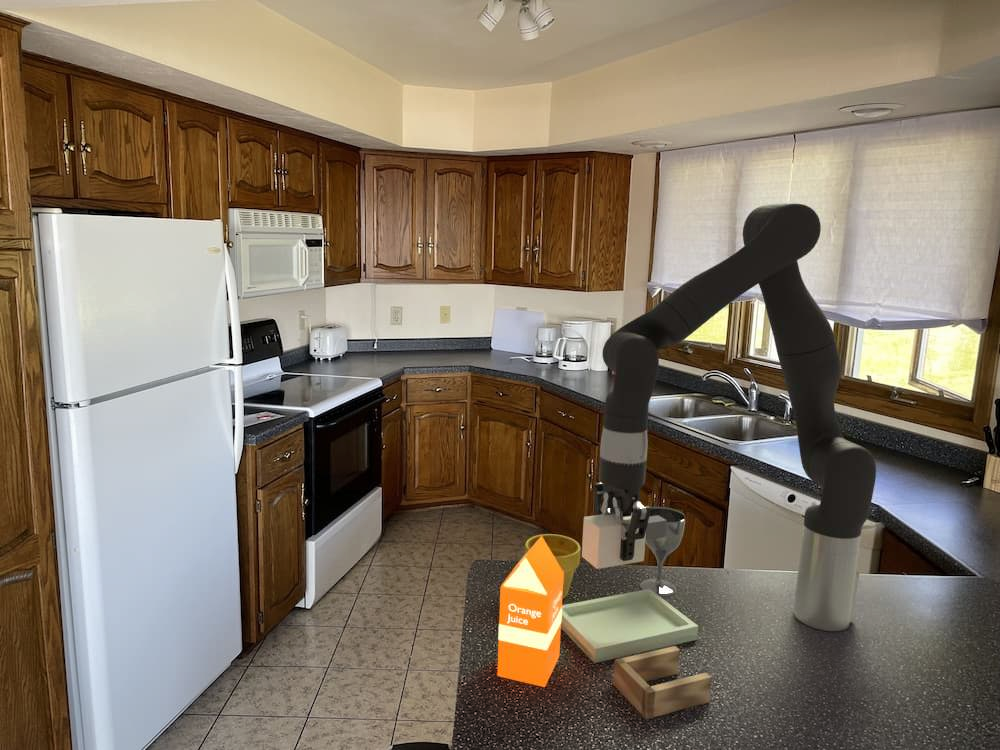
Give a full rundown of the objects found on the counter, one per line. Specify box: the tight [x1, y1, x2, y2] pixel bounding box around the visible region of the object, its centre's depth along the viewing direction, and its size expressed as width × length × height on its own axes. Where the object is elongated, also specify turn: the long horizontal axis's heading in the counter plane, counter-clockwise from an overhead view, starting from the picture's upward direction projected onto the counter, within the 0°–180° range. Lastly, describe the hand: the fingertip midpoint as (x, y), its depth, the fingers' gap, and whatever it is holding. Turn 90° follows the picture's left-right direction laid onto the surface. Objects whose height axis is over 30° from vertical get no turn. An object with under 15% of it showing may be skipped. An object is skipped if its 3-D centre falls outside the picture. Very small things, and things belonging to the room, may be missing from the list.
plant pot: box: [524, 533, 582, 600], centre depth 133 cm, size 10×10×10 cm
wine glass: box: [639, 506, 686, 597], centre depth 136 cm, size 8×8×15 cm
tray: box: [561, 589, 699, 664], centre depth 121 cm, size 20×14×2 cm
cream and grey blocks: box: [581, 514, 667, 570], centre depth 118 cm, size 14×5×7 cm, turn 113°
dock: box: [612, 645, 713, 720], centre depth 104 cm, size 11×9×4 cm
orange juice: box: [496, 536, 564, 688], centre depth 108 cm, size 8×9×20 cm
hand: (617, 552), depth 118 cm, fingers closed on cream and grey blocks, 5 cm apart
